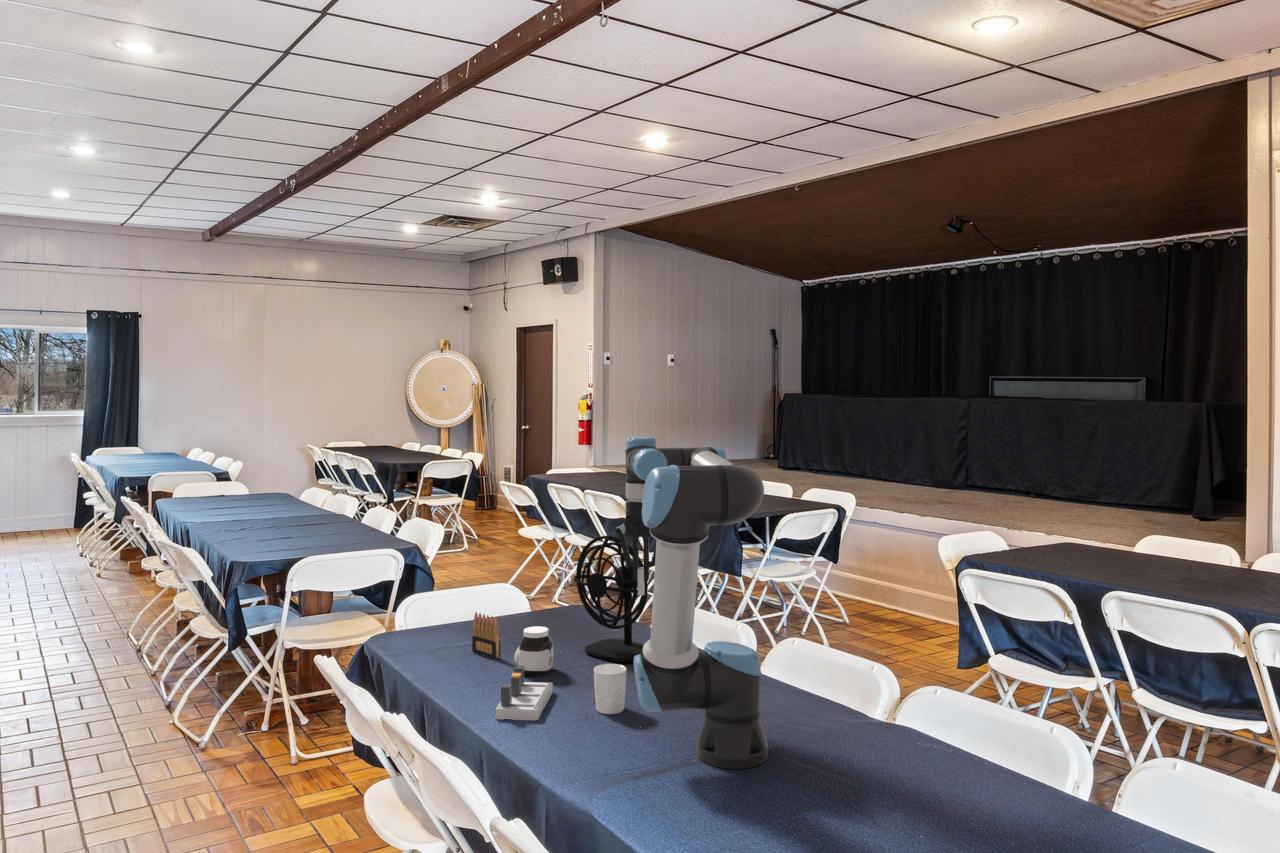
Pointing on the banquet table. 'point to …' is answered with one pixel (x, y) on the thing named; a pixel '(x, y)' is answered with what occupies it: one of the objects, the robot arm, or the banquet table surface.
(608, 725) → the banquet table surface
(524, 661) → the spread jar
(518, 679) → the handle
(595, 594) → the desk fan
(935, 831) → the banquet table surface
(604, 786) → the banquet table surface
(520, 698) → the breaker panel
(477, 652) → the ammunition clip
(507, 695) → the handle
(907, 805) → the banquet table surface
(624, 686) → the white cup
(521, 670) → the handle
